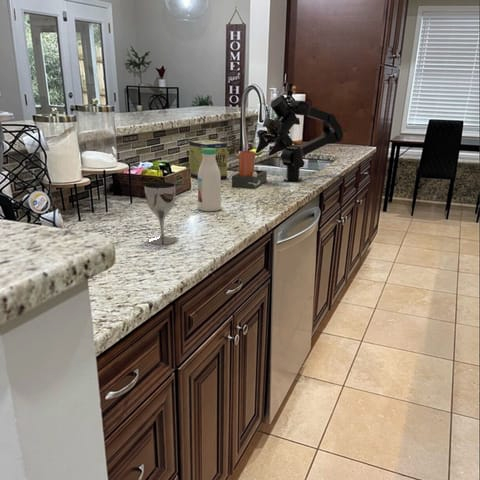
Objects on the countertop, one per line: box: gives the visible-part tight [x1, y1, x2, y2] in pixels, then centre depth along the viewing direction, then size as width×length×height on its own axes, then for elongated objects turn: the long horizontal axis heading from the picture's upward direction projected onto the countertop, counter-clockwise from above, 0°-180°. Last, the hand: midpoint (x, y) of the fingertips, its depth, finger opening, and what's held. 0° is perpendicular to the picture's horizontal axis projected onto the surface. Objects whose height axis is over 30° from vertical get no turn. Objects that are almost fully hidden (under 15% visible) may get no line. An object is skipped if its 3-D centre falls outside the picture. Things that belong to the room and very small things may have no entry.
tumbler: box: [238, 150, 256, 177], centre depth 208 cm, size 6×6×13 cm
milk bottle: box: [197, 148, 222, 212], centre depth 168 cm, size 8×8×20 cm
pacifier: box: [248, 172, 260, 188], centre depth 208 cm, size 7×6×6 cm
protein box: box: [188, 139, 228, 181], centre depth 225 cm, size 10×16×16 cm
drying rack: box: [231, 169, 268, 190], centre depth 214 cm, size 9×18×5 cm, turn 160°
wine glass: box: [144, 182, 177, 245], centre depth 134 cm, size 8×8×15 cm
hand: (262, 153), depth 210 cm, fingers open, 9 cm apart
